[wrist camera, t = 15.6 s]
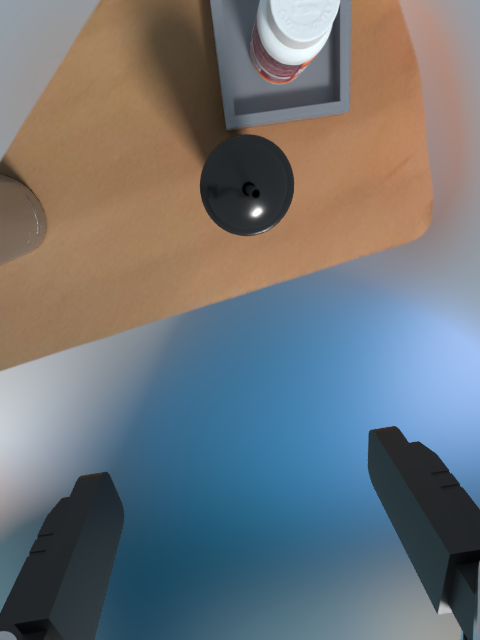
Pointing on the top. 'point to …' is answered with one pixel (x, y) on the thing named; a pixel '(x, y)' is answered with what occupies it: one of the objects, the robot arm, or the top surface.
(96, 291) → the top surface
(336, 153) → the top surface
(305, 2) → the pill bottle
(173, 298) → the top surface
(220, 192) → the drinking cup
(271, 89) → the tray
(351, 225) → the top surface
